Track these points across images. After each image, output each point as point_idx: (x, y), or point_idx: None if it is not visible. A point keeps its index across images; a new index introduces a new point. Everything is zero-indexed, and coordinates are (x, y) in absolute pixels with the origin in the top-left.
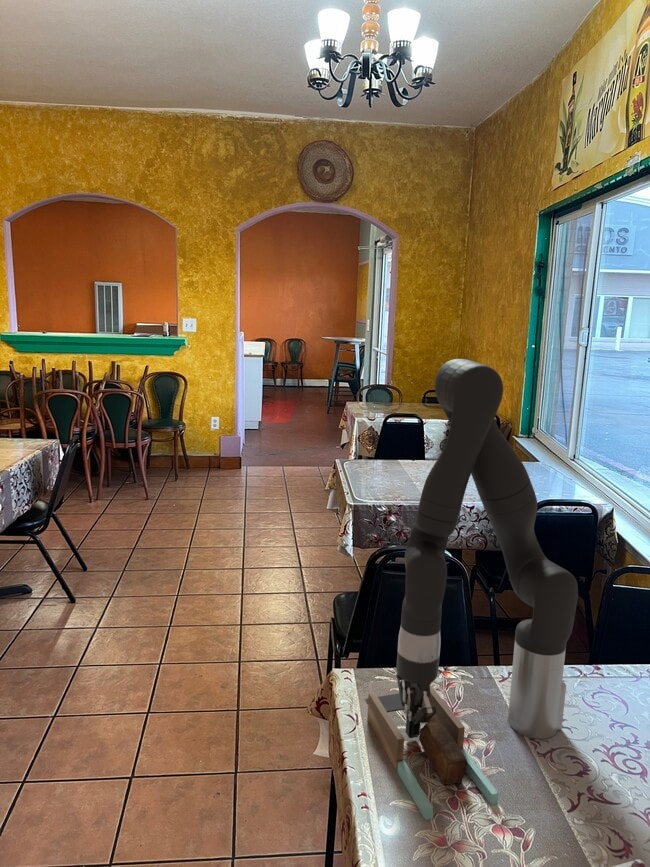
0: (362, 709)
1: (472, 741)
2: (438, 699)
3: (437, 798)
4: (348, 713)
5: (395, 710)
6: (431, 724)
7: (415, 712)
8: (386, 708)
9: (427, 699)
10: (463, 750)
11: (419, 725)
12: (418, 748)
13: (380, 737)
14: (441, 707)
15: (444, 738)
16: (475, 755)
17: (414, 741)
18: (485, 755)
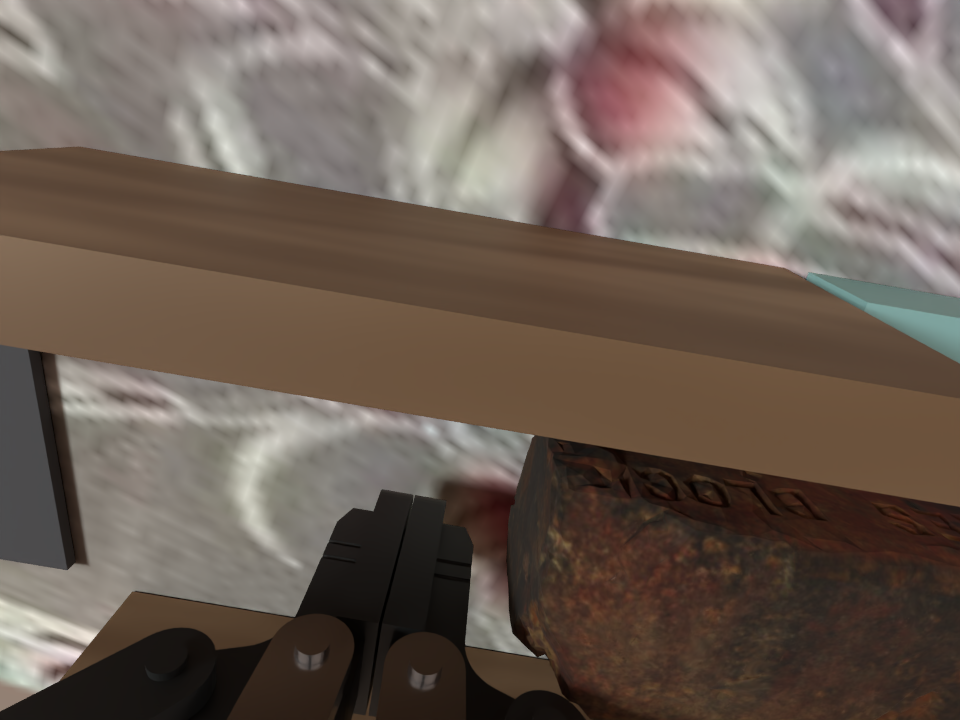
0: (3, 588)
1: (676, 7)
2: (182, 332)
3: None
4: (38, 667)
5: (46, 419)
6: (616, 661)
7: (350, 699)
8: (16, 472)
9: None
10: None
11: (464, 618)
12: (512, 502)
13: None
14: (388, 398)
15: (890, 664)
16: (847, 134)
17: (433, 485)
18: (919, 27)
